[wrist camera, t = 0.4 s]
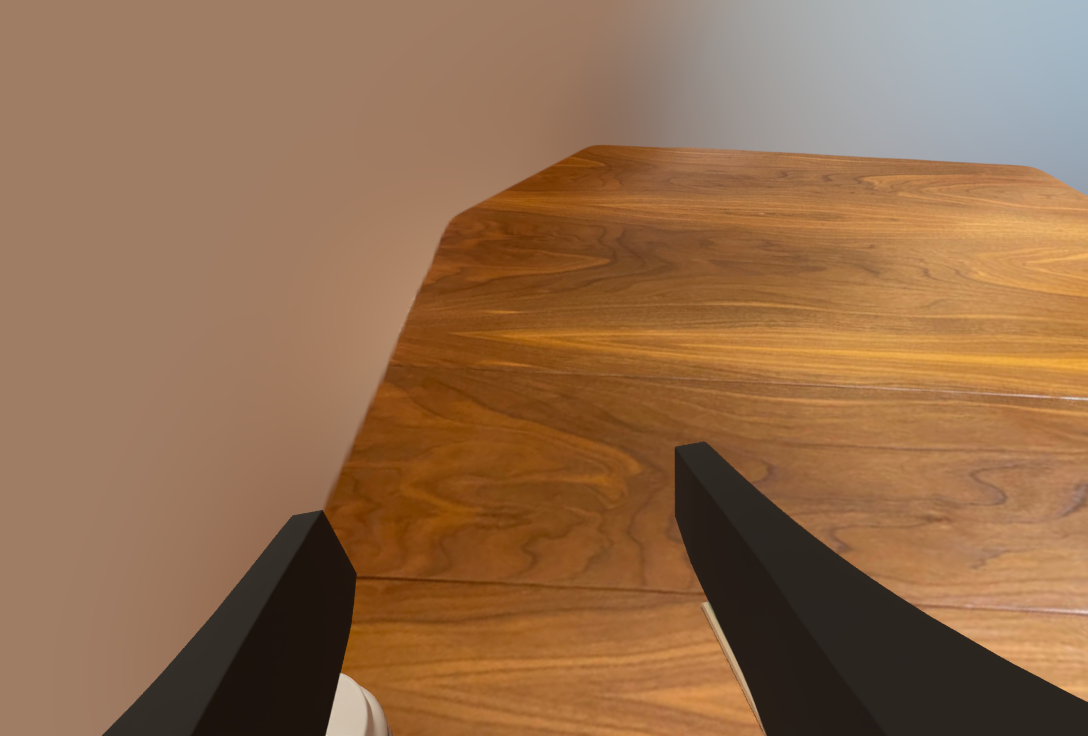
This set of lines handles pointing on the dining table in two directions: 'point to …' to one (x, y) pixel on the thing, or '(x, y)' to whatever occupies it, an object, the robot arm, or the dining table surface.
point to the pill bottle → (356, 712)
